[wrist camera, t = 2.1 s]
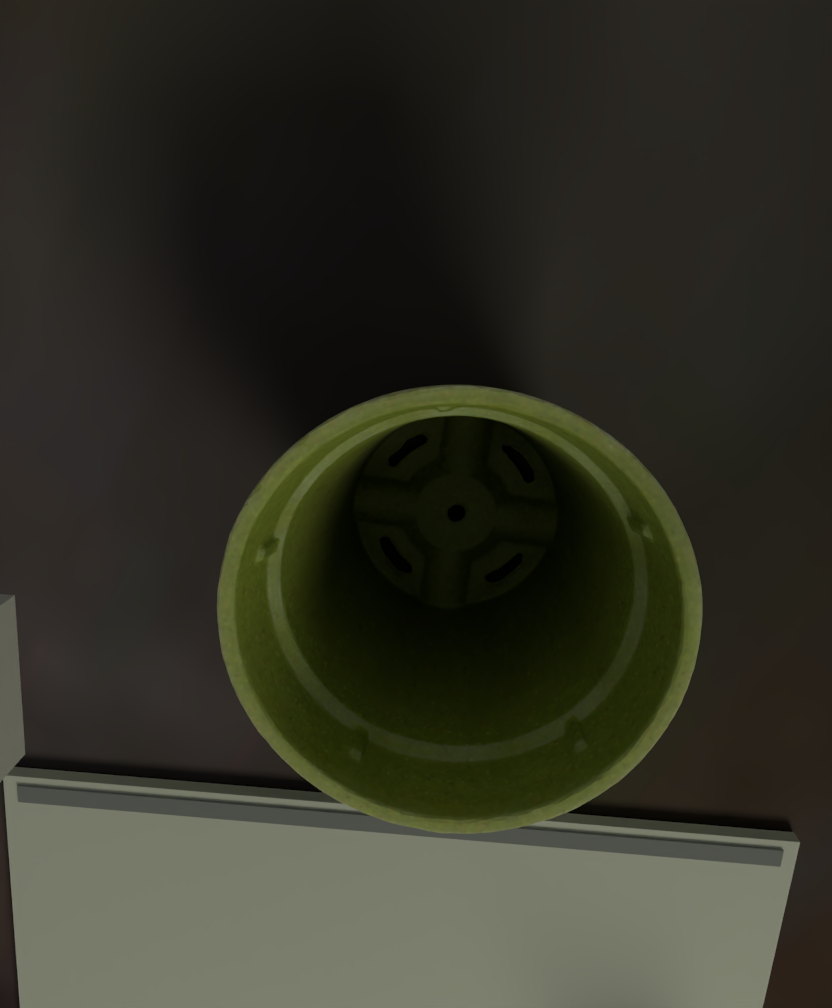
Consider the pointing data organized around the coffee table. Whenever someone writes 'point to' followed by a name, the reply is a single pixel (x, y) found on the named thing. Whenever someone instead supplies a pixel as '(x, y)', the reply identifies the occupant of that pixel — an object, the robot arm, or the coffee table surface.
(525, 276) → the coffee table surface
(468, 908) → the mat
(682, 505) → the coffee table surface
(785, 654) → the coffee table surface
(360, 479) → the plant pot
